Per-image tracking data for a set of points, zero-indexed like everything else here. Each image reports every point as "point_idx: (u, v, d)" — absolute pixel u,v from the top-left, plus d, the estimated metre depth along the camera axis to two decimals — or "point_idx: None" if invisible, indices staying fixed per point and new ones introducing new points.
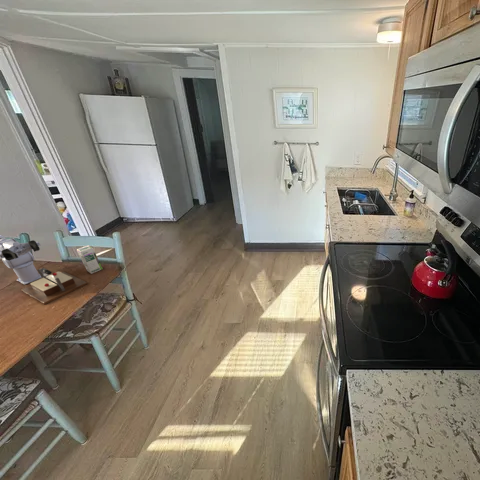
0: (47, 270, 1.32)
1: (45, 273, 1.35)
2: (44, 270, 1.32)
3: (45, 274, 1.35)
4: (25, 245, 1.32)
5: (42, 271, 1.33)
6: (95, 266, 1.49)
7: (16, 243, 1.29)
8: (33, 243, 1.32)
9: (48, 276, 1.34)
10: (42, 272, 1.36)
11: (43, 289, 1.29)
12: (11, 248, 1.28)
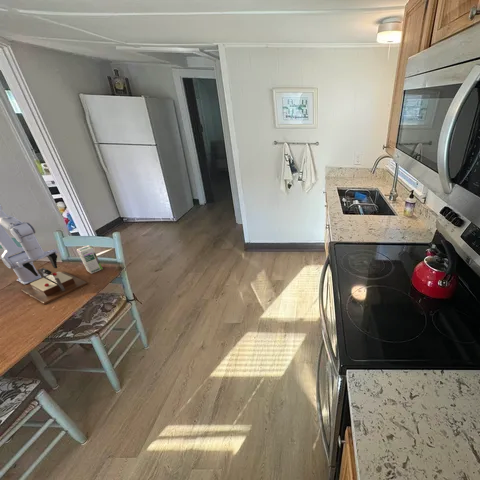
0: (47, 270, 1.32)
1: (45, 273, 1.35)
2: (44, 270, 1.32)
3: (45, 274, 1.35)
4: (45, 255, 1.31)
5: (42, 271, 1.33)
6: (95, 266, 1.49)
7: None
8: (55, 260, 1.34)
9: (48, 276, 1.34)
10: (42, 272, 1.36)
11: (43, 289, 1.29)
12: None
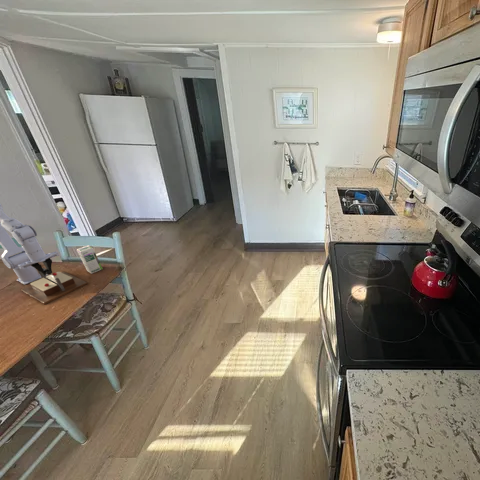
0: (47, 270, 1.32)
1: None
2: (44, 270, 1.32)
3: None
4: None
5: None
6: (95, 266, 1.49)
7: None
8: (50, 265, 1.33)
9: (48, 276, 1.34)
10: None
11: (43, 289, 1.29)
12: None
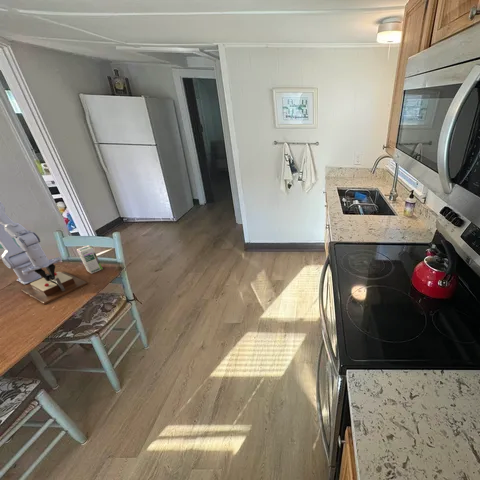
0: (50, 276, 1.34)
1: (48, 278, 1.36)
2: (47, 276, 1.34)
3: None
4: (50, 263, 1.33)
5: None
6: (95, 266, 1.49)
7: None
8: (53, 271, 1.34)
9: (51, 281, 1.36)
10: None
11: (43, 289, 1.29)
12: None
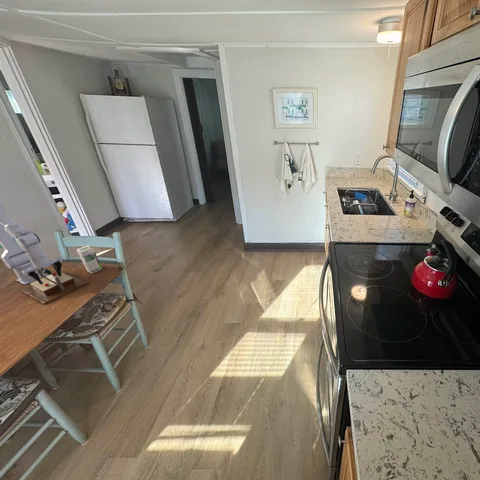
0: (47, 270, 1.32)
1: (45, 273, 1.35)
2: (44, 270, 1.32)
3: (45, 274, 1.35)
4: None
5: (42, 271, 1.33)
6: (95, 266, 1.49)
7: None
8: (59, 268, 1.36)
9: (48, 276, 1.34)
10: (42, 272, 1.36)
11: (43, 289, 1.29)
12: None
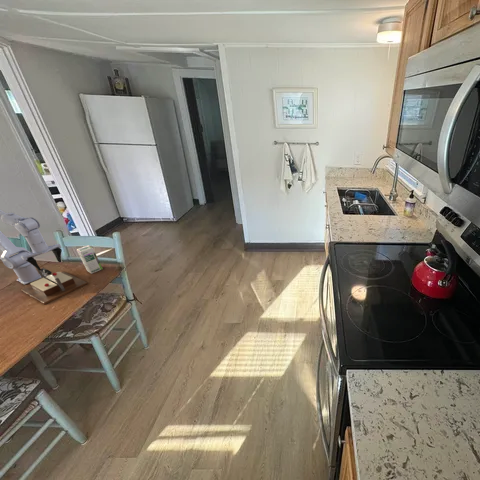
0: (47, 270, 1.32)
1: (45, 273, 1.35)
2: (44, 270, 1.32)
3: (45, 274, 1.35)
4: None
5: (42, 271, 1.33)
6: (95, 266, 1.49)
7: None
8: (59, 254, 1.38)
9: (48, 276, 1.35)
10: (42, 272, 1.36)
11: (43, 289, 1.29)
12: None
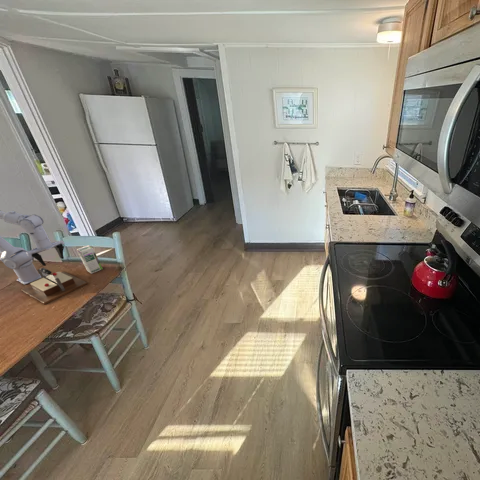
0: (47, 270, 1.32)
1: (45, 273, 1.35)
2: (44, 270, 1.32)
3: (45, 274, 1.35)
4: None
5: (42, 271, 1.33)
6: (95, 266, 1.49)
7: None
8: (61, 251, 1.41)
9: (48, 276, 1.34)
10: (42, 272, 1.36)
11: (43, 289, 1.29)
12: None
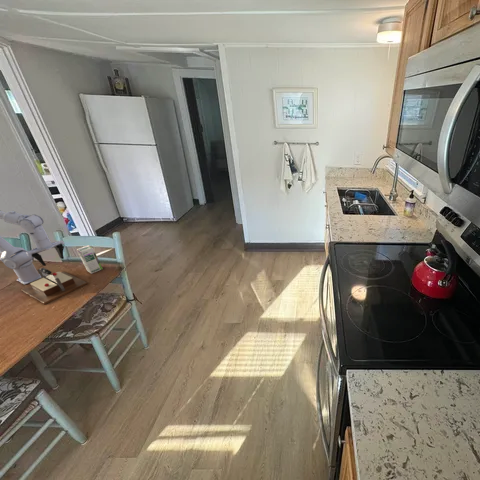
0: (47, 270, 1.32)
1: (45, 273, 1.35)
2: (44, 270, 1.32)
3: (45, 274, 1.35)
4: None
5: (42, 271, 1.33)
6: (95, 266, 1.49)
7: None
8: (61, 251, 1.41)
9: (48, 276, 1.34)
10: (42, 272, 1.36)
11: (43, 289, 1.29)
12: None
